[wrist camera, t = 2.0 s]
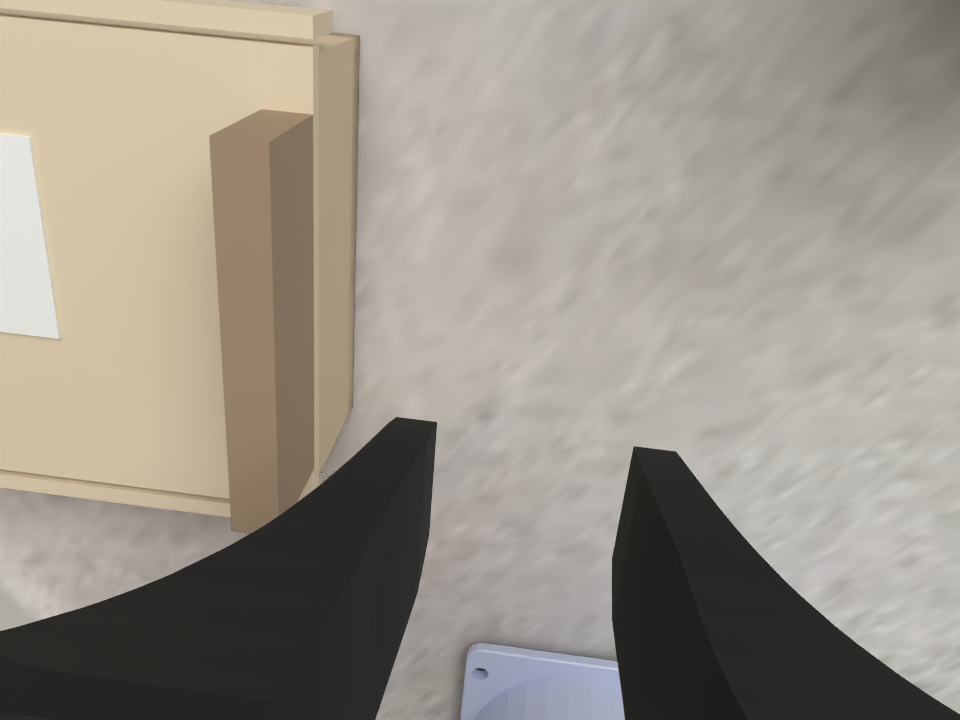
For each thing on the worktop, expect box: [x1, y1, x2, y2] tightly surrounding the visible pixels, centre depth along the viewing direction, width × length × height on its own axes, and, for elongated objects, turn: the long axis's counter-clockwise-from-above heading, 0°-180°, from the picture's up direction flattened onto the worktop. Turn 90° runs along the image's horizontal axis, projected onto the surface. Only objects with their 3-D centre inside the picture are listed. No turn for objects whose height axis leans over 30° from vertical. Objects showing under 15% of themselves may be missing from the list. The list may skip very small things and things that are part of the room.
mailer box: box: [0, 8, 360, 475], centre depth 21 cm, size 10×14×4 cm
